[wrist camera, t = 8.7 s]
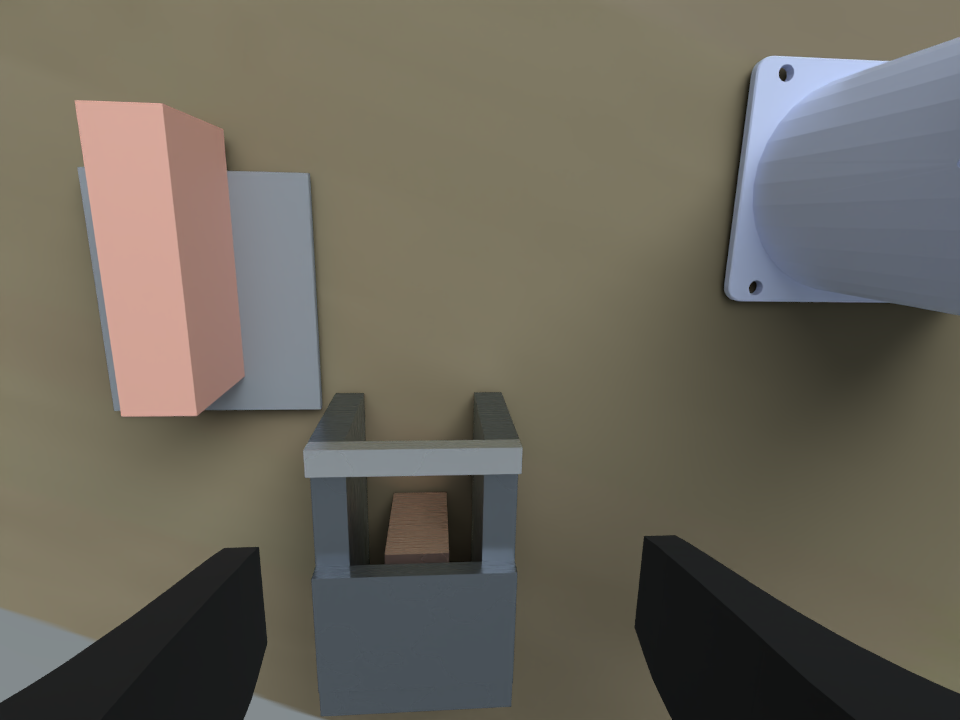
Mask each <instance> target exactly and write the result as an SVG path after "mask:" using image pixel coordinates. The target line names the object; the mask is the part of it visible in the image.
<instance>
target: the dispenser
mask: <svg viewBox="0 0 960 720" xmlns="http://www.w3.org/2000/svg"><path fill="white" fill-rule="evenodd" d="M303 454H304V470H305V478H310V481H311V497H312V514H313V530H314V547H315V563H316V567H315V570H314V573H313V576H312V579H311V581H312V597H313V612H314V628H315V644H316V660H317V676H318V691H319V694H320V710H321V716H339V715H358V714H377V713H397V712H416V711H435V710H454V709H474V708H493V707H511V697H512V683H513V662H514V638H515V614H516V590H517V569H516V565H515V561H514V559H515V534H516V509H517V484H518V474H521V471H522V445H521V443H520V440H519V437H518V435H517V432H516V430H515V427H514V424H513V422H512V419H511V417H510V414H509V411H508V409H507V406H506V403H505V401H504V398H503V396H502V393H501V392H482V393H474V432H473V440H430V441H365V411H364V393H336V394H335V395H334V397H333V399H332V401H331V403H330V404H329V406H328V408H327V410H326V411H325V413H324V415H323V417H322V418H321V420H320V422H319V424H318V425H317V427H316V429H315V431H314V433H313V434H312V436H311V438H310V440H309V441H308V443H307V445H306V447H305V448H304V450H303ZM430 475H473V487H472V542H471V562H451V563H449V540H448V517H447V494H446V492H427V493H394V496H393V502H392V509H391V516H390V522H389V529H388V536H387V543H386V549H385V564H384V565H370V561H369V531H368V501H367V477H372V476H430Z"/></svg>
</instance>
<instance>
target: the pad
mask: <svg viewBox="0 0 960 720" xmlns="http://www.w3.org/2000/svg"><path fill="white" fill-rule="evenodd" d="M78 174H79V180H80V187H81V194H82V200H83V207H84V213H85V220H86V227H87V233H88V240H89V246H90V253H91V260H92V266H93V273H94V280H95V286H96V293H97V299H98V306H99V313H100V319H101V326H102V333H103V339H104V346H105V352H106V359H107V366H108V372H109V379H110V386H111V392H112V399H113V405H114V411H121V410H120V404H119V397H118V390H117V383H116V377H115V370H114V363H113V356H112V349H111V343H110V336H109V329H108V322H107V316H106V309H105V302H104V295H103V288H102V282H101V275H100V268H99V261H98V254H97V248H96V241H95V234H94V227H93V221H92V214H91V207H90V200H89V193H88V187H87V180H86V173H85V167H78ZM227 177H228V189H229V200H230V212H231V223H232V235H233V246H234V257H235V269H236V280H237V292H238V303H239V315H240V326H241V337H242V349H243V360H244V372H245V377H243V378H242V379H241V380H240V381H239V382H237V383H236V384H235V385H234V386H233V387H231V388H230V389H229V390H228V391H226V392H225V393H224V394H223V395H222V396H220V397H219V398H218V399H217V400H216V401H214V402H213V403H212V404H211V405H210V406H208V407H207V408H206V409H205V410H290V409H321V408H322V391H321V373H320V354H319V335H318V316H317V297H316V278H315V259H314V241H313V222H312V203H311V184H310V174H309V173H285V172H248V171H227Z"/></svg>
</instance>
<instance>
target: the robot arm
mask: <svg viewBox="0 0 960 720" xmlns="http://www.w3.org/2000/svg"><path fill="white" fill-rule="evenodd" d="M780 68H784V69H785V71H786V73H787V77H786V80H785V81H781V79H780V78H779V70H780ZM753 281H755V282H756V284H757V287H756V290H755V291H754V292H753V293H750V292H749V286H750V284H751V283H752V282H753ZM724 292H725V294H726V296H727V297H729V298H730V299H732V300H736V301H759V302H873V303H894V304H900V305H905V306H911V307H916V308H922V309H927V310H932V311H938V312H943V313H949V314H954V315H960V37H958V38H955V39H952V40H950V41H947V42H944V43H941V44H938V45H935V46H932V47H929V48H926V49H924V50H921V51H918V52H915V53H912V54H909V55H906V56H903V57H900V58H898V59H895V60H892V61H872V60H851V59H829V58H808V57H787V56H770V57H766V58H764V59H762V60H761V61H759V62H758V63H757V64H756V65H755V66H754V68H753V70H752V74H751V80H750V88H749V96H748V104H747V111H746V119H745V127H744V135H743V143H742V150H741V158H740V166H739V174H738V182H737V189H736V197H735V205H734V213H733V221H732V228H731V236H730V244H729V252H728V259H727V267H726V275H725V283H724ZM635 630H636V633H637V636H638V639H639V642H640V645H641V648H642V651H643V654H644V657H645V659H646V662H647V665H648V668H649V670H650V673H651V676H652V679H653V681H654V683H655V685H656V687H657V690H658V692H659V694H660V696H661V698H662V700H663V702H664V704H665V706H666V708H667V710H668V712H669V714H670V716H671V718H672V720H960V694H959V693H957V692H954V691H952V690H950V689H947V688H945V687H943V686H940V685H938V684H936V683H934V682H932V681H929V680H927V679H925V678H923V677H921V676H919V675H916V674H914V673H912V672H910V671H908V670H906V669H904V668H902V667H900V666H898V665H896V664H894V663H892V662H890V661H888V660H886V659H884V658H882V657H880V656H878V655H876V654H874V653H872V652H870V651H868V650H866V649H864V648H862V647H860V646H858V645H856V644H854V643H852V642H850V641H849V640H847V639H845V638H843V637H841V636H839V635H837V634H836V633H834V632H832V631H830V630H829V629H827V628H825V627H823V626H822V625H820V624H818V623H816V622H815V621H813V620H811V619H809V618H808V617H806V616H804V615H802V614H801V613H799V612H797V611H796V610H794V609H792V608H791V607H789V606H787V605H786V604H784V603H782V602H781V601H779V600H778V599H776V598H774V597H773V596H771V595H769V594H768V593H766V592H765V591H763V590H761V589H760V588H758V587H757V586H755V585H754V584H752V583H750V582H749V581H747V580H746V579H744V578H743V577H741V576H740V575H738V574H736V573H735V572H733V571H732V570H730V569H729V568H727V567H726V566H724V565H723V564H721V563H720V562H718V561H716V560H715V559H713V558H712V557H710V556H709V555H707V554H706V553H704V552H702V551H701V550H699V549H698V548H696V547H694V546H693V545H691V544H689V543H688V542H686V541H684V540H683V539H681V538H679V537H677V536H675V535H670V536H644V542H643V552H642V561H641V571H640V580H639V590H638V600H637V609H636V619H635ZM266 646H267V634H266V623H265V611H264V600H263V589H262V577H261V566H260V555H259V547H243V548H224V549H222V550H221V551H219V552H218V553H216V554H215V555H213V556H212V557H210V558H209V559H208V560H206V561H205V562H204V563H202V564H201V565H200V566H198V567H197V568H196V569H194V570H193V571H192V572H190V573H189V574H188V575H187V576H185V577H184V578H183V579H181V580H180V581H179V582H177V583H176V584H175V585H173V586H172V587H171V588H169V589H168V590H167V591H165V592H164V593H163V594H161V595H160V596H159V597H157V598H156V599H155V600H153V601H152V602H151V603H149V604H148V605H147V606H145V607H144V608H143V609H141V610H140V611H139V612H137V613H136V614H135V615H133V616H132V617H131V618H129V619H128V620H126V621H125V622H123V623H122V624H121V625H119V626H118V627H116V628H115V629H113V630H112V631H110V632H109V633H108V634H106V635H105V636H103V637H102V638H100V639H99V640H97V641H96V642H95V643H93V644H92V645H90V646H89V647H87V648H86V649H84V650H83V651H82V652H80V653H79V654H77V655H76V656H75V657H73V658H71V659H70V660H69V661H67V662H66V663H64V664H63V665H61V666H59V667H58V668H56V669H55V670H53V671H52V672H50V673H49V674H47V675H45V676H44V677H42V678H41V679H39V680H37V681H36V682H34V683H33V684H31V685H30V686H28V687H26V688H24V689H23V690H21V691H19V692H18V693H16V694H14V695H13V696H11V697H9V698H8V699H6V700H4V701H3V702H1V703H0V720H243V719H244V717H245V715H246V712H247V710H248V707H249V704H250V702H251V699H252V696H253V692H254V689H255V685H256V682H257V679H258V675H259V672H260V668H261V664H262V660H263V657H264V653H265V649H266Z"/></svg>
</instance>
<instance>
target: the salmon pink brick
mask: <svg viewBox="0 0 960 720" xmlns="http://www.w3.org/2000/svg"><path fill="white" fill-rule="evenodd" d="M75 105H76V112H77V119H78V126H79V132H80V139H81V146H82V153H83V160H84V166H85V173H86V180H87V187H88V193H89V200H90V207H91V214H92V221H93V227H94V234H95V241H96V248H97V254H98V261H99V268H100V275H101V282H102V288H103V295H104V302H105V309H106V316H107V322H108V329H109V336H110V343H111V349H112V356H113V363H114V370H115V377H116V383H117V390H118V397H119V404H120V410H121V416H198V415H199V414H200V413H201V412H202V411H204V410H205V409H206V408H207V407H208V406H210V405H211V404H212V403H213V402H214V401H216V400H217V399H218V398H219V397H220V396H222V395H223V394H224V393H225V392H226V391H228V390H229V389H230V388H231V387H233V386H234V385H235V384H236V383H237V382H239V381H240V380H241V379H242V378H243V377H245V372H244V360H243V349H242V337H241V326H240V315H239V303H238V292H237V280H236V269H235V257H234V246H233V235H232V223H231V212H230V200H229V189H228V177H227V166H226V155H225V143H224V132H223V129H221V128H219V127H217V126H214V125H212V124H210V123H207V122H205V121H202V120H200V119H198V118H195V117H193V116H191V115H188V114H186V113H184V112H181V111H179V110H176V109H174V108H172V107H169V106H167V105H165V104H162V103H136V102H109V101H82V100H75Z"/></svg>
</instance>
